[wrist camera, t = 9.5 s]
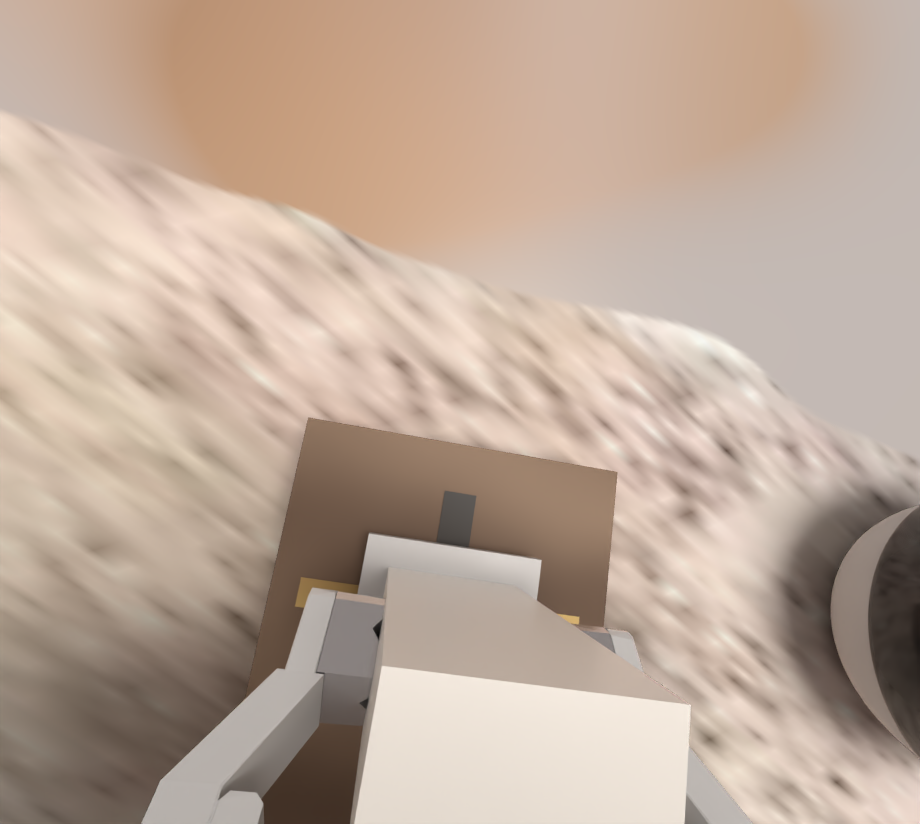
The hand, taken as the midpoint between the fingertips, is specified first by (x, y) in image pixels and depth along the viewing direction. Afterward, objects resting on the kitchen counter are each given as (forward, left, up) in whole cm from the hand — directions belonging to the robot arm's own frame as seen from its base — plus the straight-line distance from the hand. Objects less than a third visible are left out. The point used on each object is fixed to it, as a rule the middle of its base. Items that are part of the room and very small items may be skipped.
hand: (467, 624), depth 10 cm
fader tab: (0, -1, -4) cm, 4 cm away
